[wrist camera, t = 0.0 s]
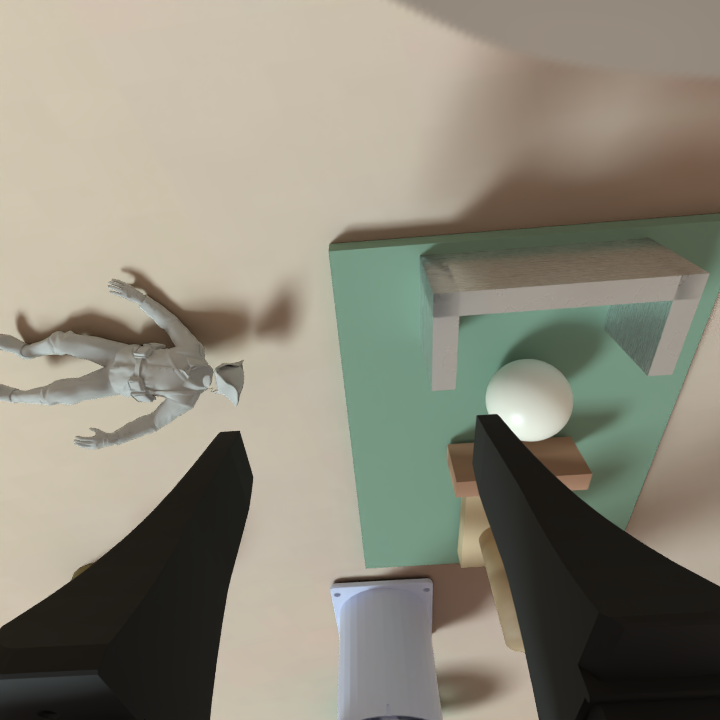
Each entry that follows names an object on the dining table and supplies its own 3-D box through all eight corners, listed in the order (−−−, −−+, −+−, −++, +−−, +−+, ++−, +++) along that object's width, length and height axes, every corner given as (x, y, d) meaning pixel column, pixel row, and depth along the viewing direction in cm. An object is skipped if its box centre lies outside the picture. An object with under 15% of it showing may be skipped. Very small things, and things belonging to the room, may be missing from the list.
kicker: (544, 545, 31) (590, 662, 25) (442, 551, 32) (464, 668, 25) (570, 436, 26) (638, 552, 20) (447, 444, 26) (476, 561, 20)
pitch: (609, 541, 33) (615, 554, 33) (365, 556, 34) (365, 568, 33) (731, 212, 20) (747, 218, 19) (329, 243, 21) (328, 251, 20)
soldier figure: (4, 275, 23) (204, 269, 19) (89, 306, 27) (265, 306, 23) (-37, 433, 21) (170, 463, 17) (60, 437, 26) (242, 462, 22)
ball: (548, 403, 25) (578, 456, 21) (475, 408, 25) (493, 461, 22) (560, 340, 23) (596, 388, 19) (480, 346, 23) (502, 395, 19)
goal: (623, 327, 22) (672, 374, 19) (420, 342, 23) (431, 391, 19) (649, 237, 20) (709, 273, 16) (419, 255, 20) (433, 294, 17)
